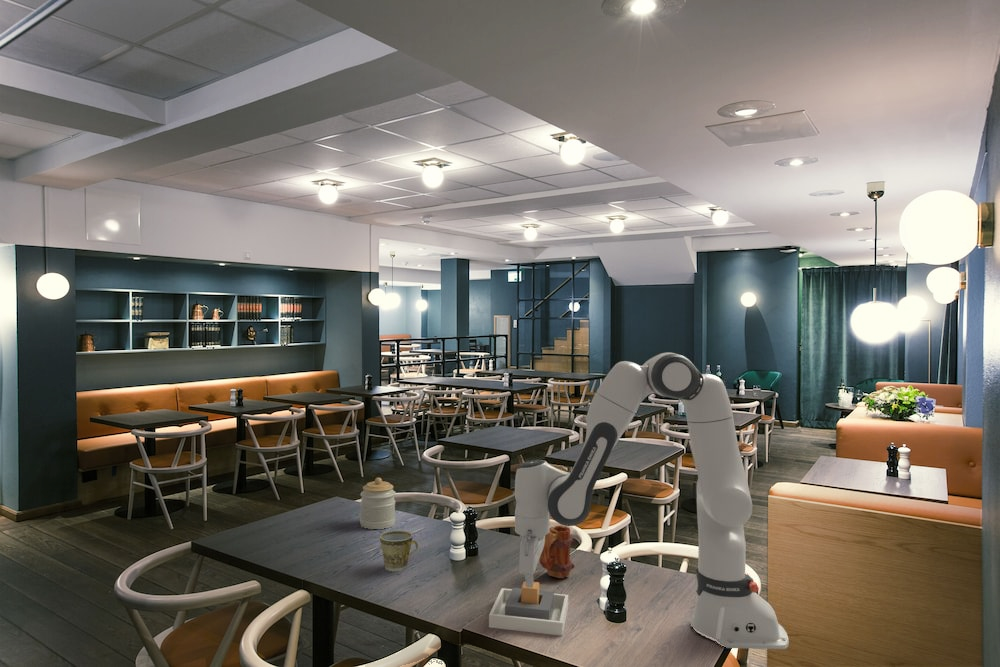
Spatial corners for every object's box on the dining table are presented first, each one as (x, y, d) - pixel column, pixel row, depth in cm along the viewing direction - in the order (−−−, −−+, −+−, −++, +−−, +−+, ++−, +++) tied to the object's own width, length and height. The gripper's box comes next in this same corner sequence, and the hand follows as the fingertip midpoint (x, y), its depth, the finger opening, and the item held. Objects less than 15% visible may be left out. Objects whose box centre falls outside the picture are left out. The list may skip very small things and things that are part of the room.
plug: (538, 613, 159) (539, 582, 159) (536, 620, 155) (537, 589, 155) (523, 611, 160) (524, 581, 159) (521, 619, 156) (521, 587, 156)
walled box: (568, 609, 163) (568, 594, 163) (562, 639, 148) (562, 623, 148) (501, 602, 167) (501, 588, 167) (488, 631, 151) (489, 614, 151)
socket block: (554, 608, 162) (554, 591, 161) (549, 628, 151) (549, 610, 151) (512, 604, 164) (512, 587, 164) (504, 623, 153) (505, 605, 153)
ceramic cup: (372, 570, 188) (372, 537, 188) (392, 559, 197) (393, 528, 197) (407, 578, 182) (407, 544, 182) (426, 567, 191) (427, 535, 191)
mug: (556, 567, 192) (557, 519, 192) (578, 574, 187) (579, 525, 187) (528, 581, 181) (529, 530, 181) (551, 589, 176) (552, 537, 176)
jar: (384, 517, 240) (385, 472, 240) (401, 525, 230) (402, 478, 230) (353, 523, 232) (354, 476, 232) (370, 532, 222) (370, 483, 222)
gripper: (539, 538, 146) (539, 597, 146) (549, 513, 166) (549, 564, 166) (512, 537, 147) (513, 595, 147) (526, 512, 167) (526, 563, 168)
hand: (532, 578), depth 157 cm, fingers open, 8 cm apart
